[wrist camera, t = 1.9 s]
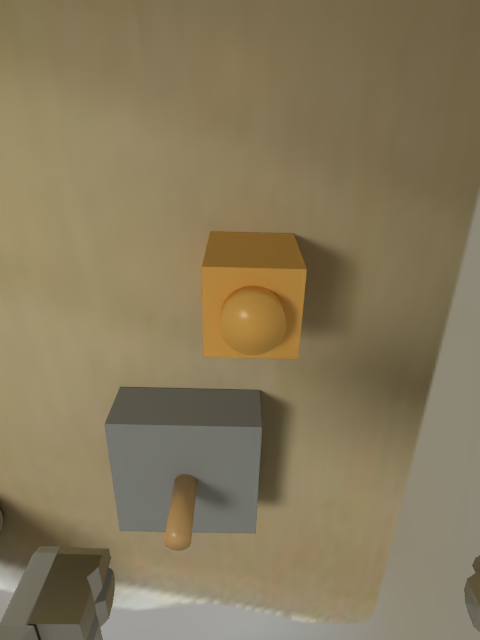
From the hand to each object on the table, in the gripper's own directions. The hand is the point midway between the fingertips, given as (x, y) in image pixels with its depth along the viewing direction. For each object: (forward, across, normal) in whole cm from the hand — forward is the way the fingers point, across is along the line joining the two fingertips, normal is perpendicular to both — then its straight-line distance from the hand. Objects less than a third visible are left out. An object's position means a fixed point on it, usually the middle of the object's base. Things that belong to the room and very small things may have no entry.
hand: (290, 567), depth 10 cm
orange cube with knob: (+20, +1, 0) cm, 20 cm away
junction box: (+20, +5, +14) cm, 25 cm away
